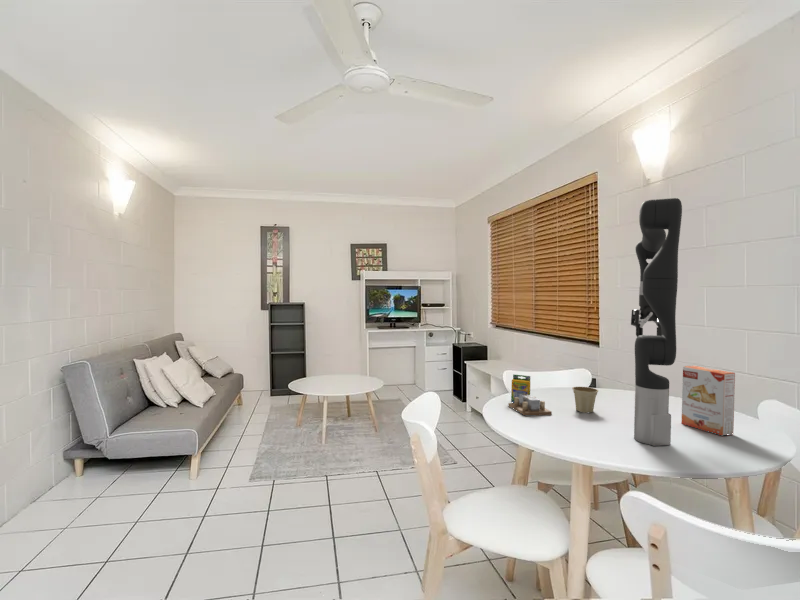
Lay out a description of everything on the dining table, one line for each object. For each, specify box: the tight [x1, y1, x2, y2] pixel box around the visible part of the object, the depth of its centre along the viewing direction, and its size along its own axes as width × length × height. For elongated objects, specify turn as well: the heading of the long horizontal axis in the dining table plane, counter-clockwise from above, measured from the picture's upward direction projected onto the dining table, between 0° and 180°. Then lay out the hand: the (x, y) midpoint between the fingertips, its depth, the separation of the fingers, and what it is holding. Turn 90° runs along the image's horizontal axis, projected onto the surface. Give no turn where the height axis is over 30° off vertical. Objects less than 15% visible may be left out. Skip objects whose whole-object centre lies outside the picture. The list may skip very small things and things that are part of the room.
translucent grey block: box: [519, 394, 541, 411], centre depth 168 cm, size 10×4×4 cm, turn 11°
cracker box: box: [681, 365, 736, 436], centre depth 146 cm, size 14×6×21 cm, turn 21°
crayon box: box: [510, 374, 531, 403], centre depth 178 cm, size 7×3×12 cm, turn 64°
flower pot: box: [572, 386, 599, 414], centre depth 168 cm, size 9×9×9 cm
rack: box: [508, 396, 553, 416], centre depth 168 cm, size 14×11×4 cm
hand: (649, 337), depth 159 cm, fingers open, 8 cm apart
